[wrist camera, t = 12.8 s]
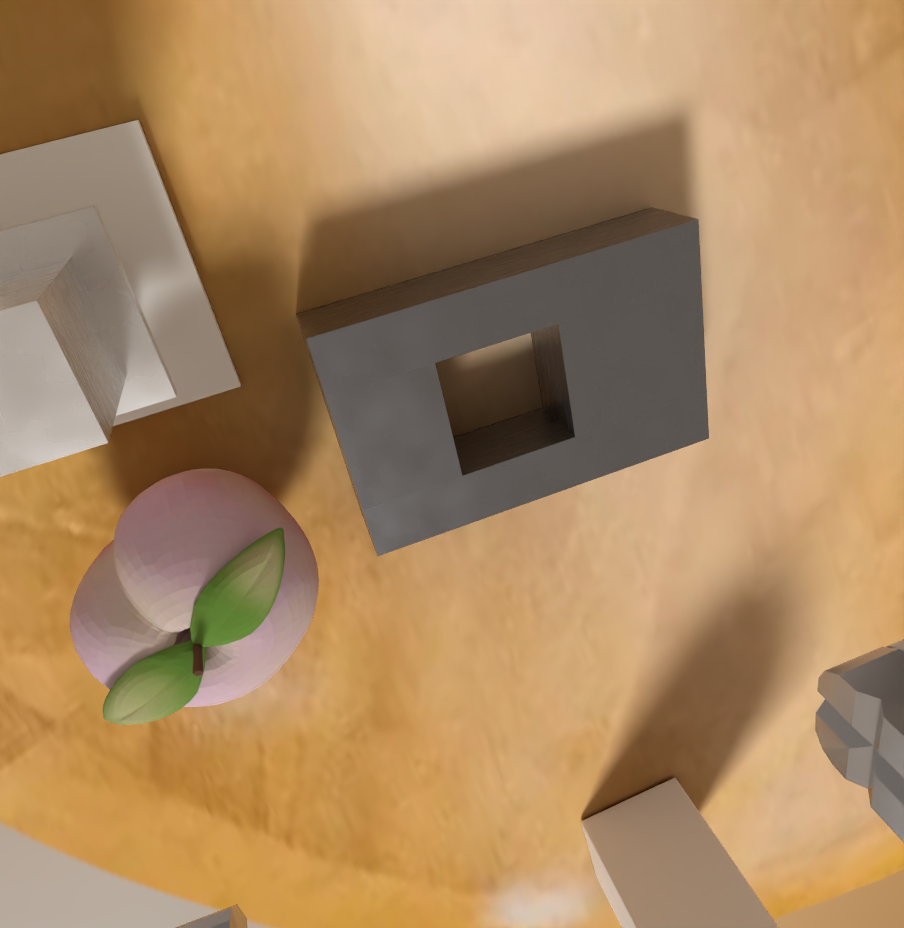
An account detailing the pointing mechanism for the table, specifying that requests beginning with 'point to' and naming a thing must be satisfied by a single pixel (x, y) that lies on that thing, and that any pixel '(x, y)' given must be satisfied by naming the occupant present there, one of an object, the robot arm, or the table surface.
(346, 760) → the table surface
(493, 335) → the post block
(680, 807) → the milk carton
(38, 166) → the pad
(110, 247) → the peg
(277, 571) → the decorative fruit
